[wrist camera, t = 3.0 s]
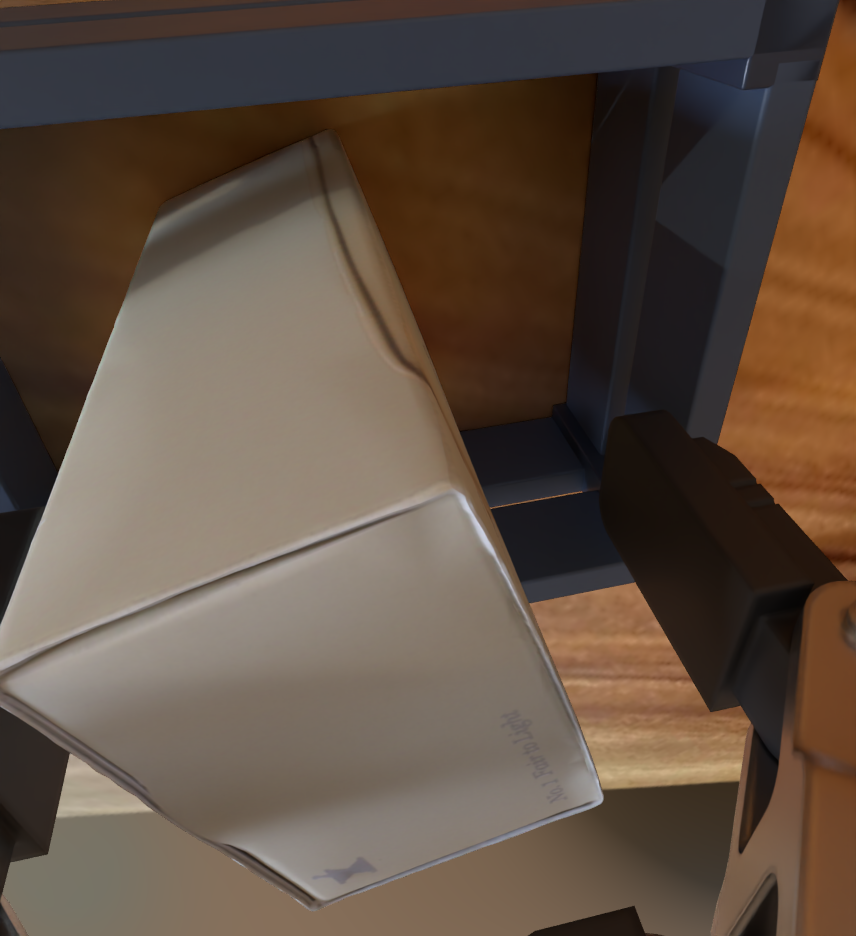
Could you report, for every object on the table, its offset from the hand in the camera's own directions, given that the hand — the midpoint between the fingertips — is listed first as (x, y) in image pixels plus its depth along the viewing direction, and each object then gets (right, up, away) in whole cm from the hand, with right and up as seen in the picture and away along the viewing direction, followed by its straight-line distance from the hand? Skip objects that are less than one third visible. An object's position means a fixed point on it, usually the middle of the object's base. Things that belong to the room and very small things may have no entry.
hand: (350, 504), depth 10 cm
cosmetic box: (-2, +5, +6) cm, 8 cm away
